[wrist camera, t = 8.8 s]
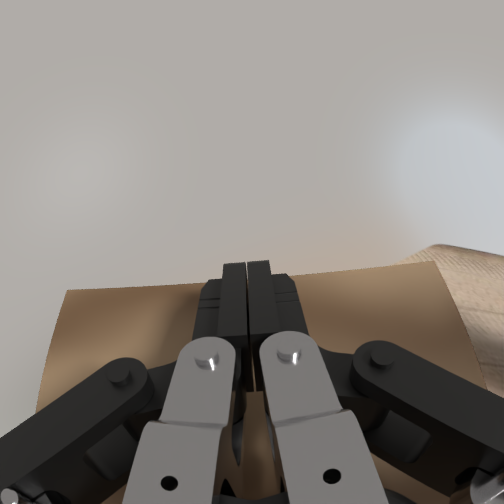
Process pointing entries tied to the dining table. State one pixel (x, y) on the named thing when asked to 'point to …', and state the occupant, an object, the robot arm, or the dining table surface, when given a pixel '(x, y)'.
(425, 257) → the dining table surface
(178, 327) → the box lid
